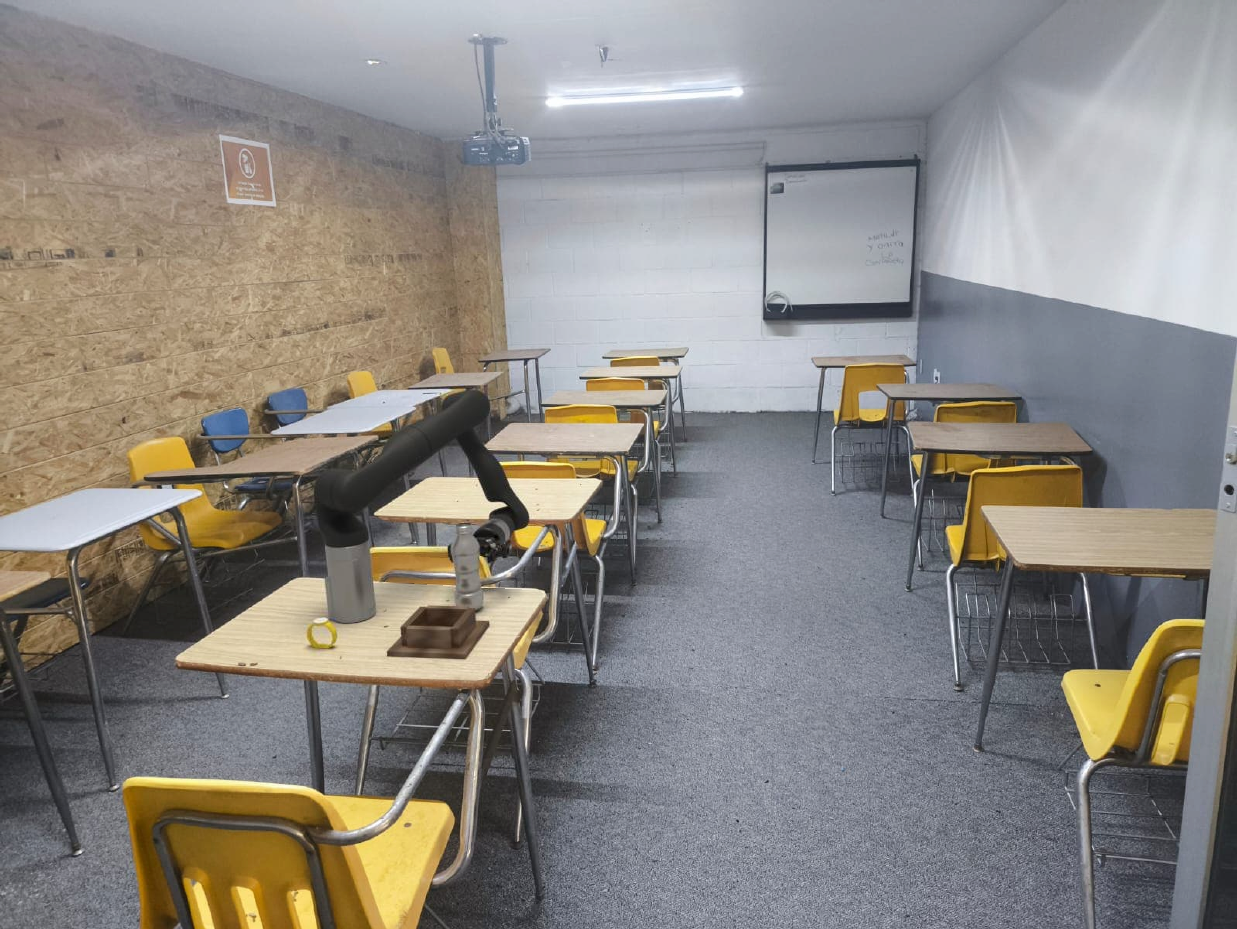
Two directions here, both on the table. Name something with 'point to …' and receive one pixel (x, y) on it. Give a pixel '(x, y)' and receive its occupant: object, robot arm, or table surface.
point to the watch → (320, 623)
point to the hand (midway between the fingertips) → (470, 558)
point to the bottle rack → (439, 633)
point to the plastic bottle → (467, 567)
